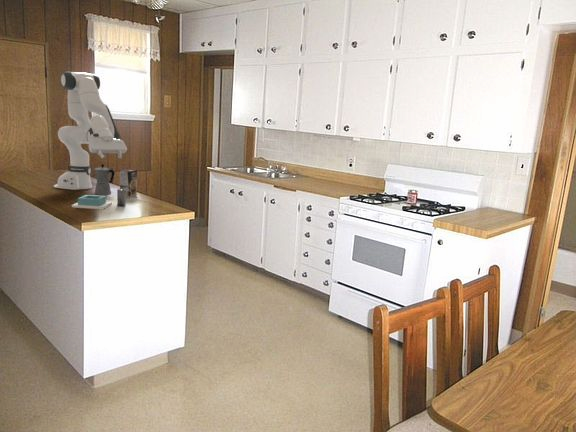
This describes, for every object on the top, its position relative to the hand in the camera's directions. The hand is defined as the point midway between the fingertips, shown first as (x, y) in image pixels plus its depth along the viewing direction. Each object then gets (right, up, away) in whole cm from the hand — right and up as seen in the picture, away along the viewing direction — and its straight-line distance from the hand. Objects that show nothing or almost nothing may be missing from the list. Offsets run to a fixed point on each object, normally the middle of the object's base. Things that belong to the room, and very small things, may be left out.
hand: (111, 157), depth 255 cm
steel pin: (+6, -27, -3) cm, 28 cm away
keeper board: (-7, -27, -8) cm, 29 cm away
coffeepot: (-15, -19, +28) cm, 37 cm away
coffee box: (+1, -21, +24) cm, 32 cm away
